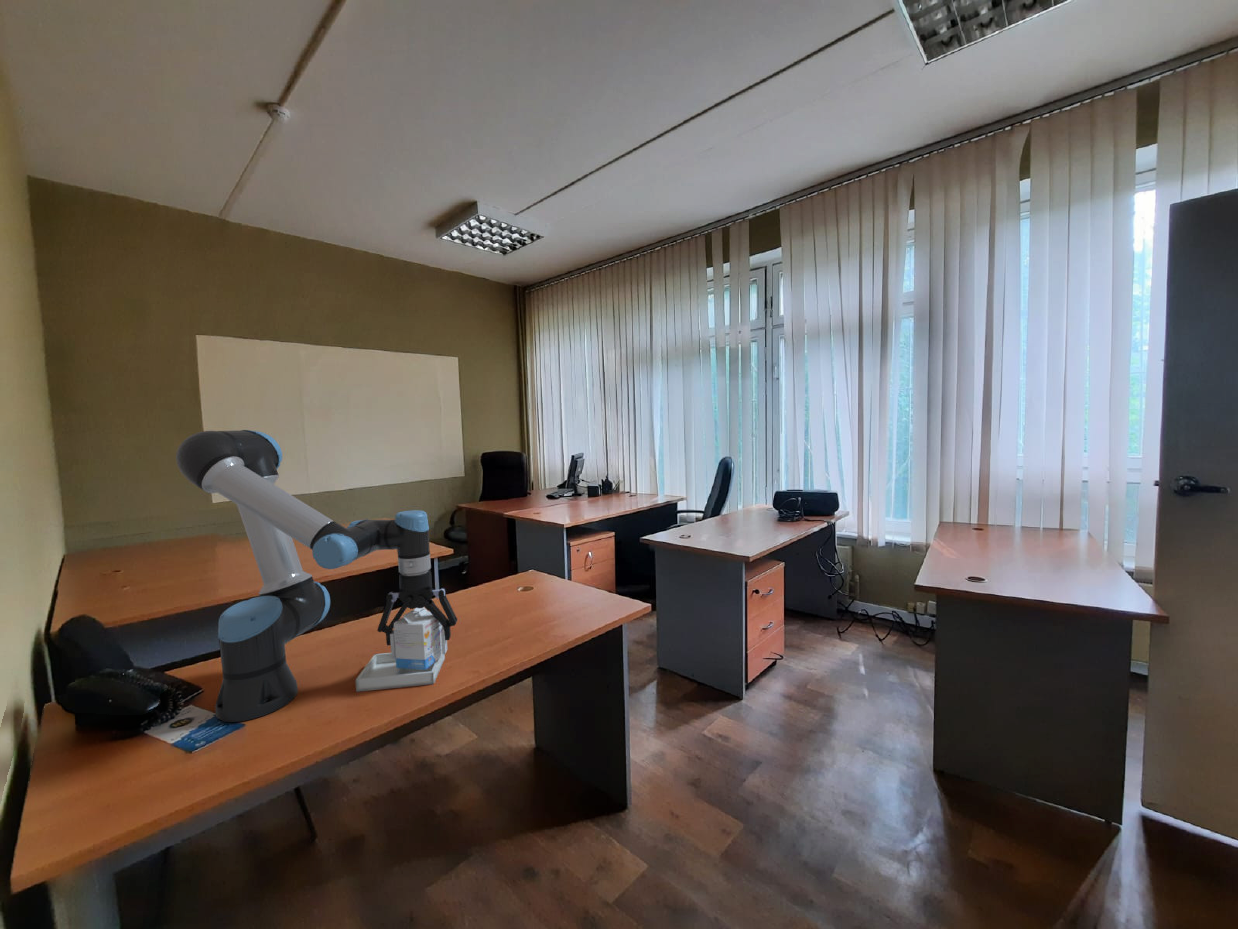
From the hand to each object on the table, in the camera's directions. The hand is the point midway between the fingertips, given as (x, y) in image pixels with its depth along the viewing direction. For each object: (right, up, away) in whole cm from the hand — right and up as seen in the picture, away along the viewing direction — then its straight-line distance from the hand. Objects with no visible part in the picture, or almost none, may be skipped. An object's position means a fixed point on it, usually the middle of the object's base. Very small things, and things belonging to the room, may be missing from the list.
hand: (420, 654), depth 122 cm
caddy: (-4, -5, 0) cm, 6 cm away
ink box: (0, -2, 0) cm, 2 cm away
